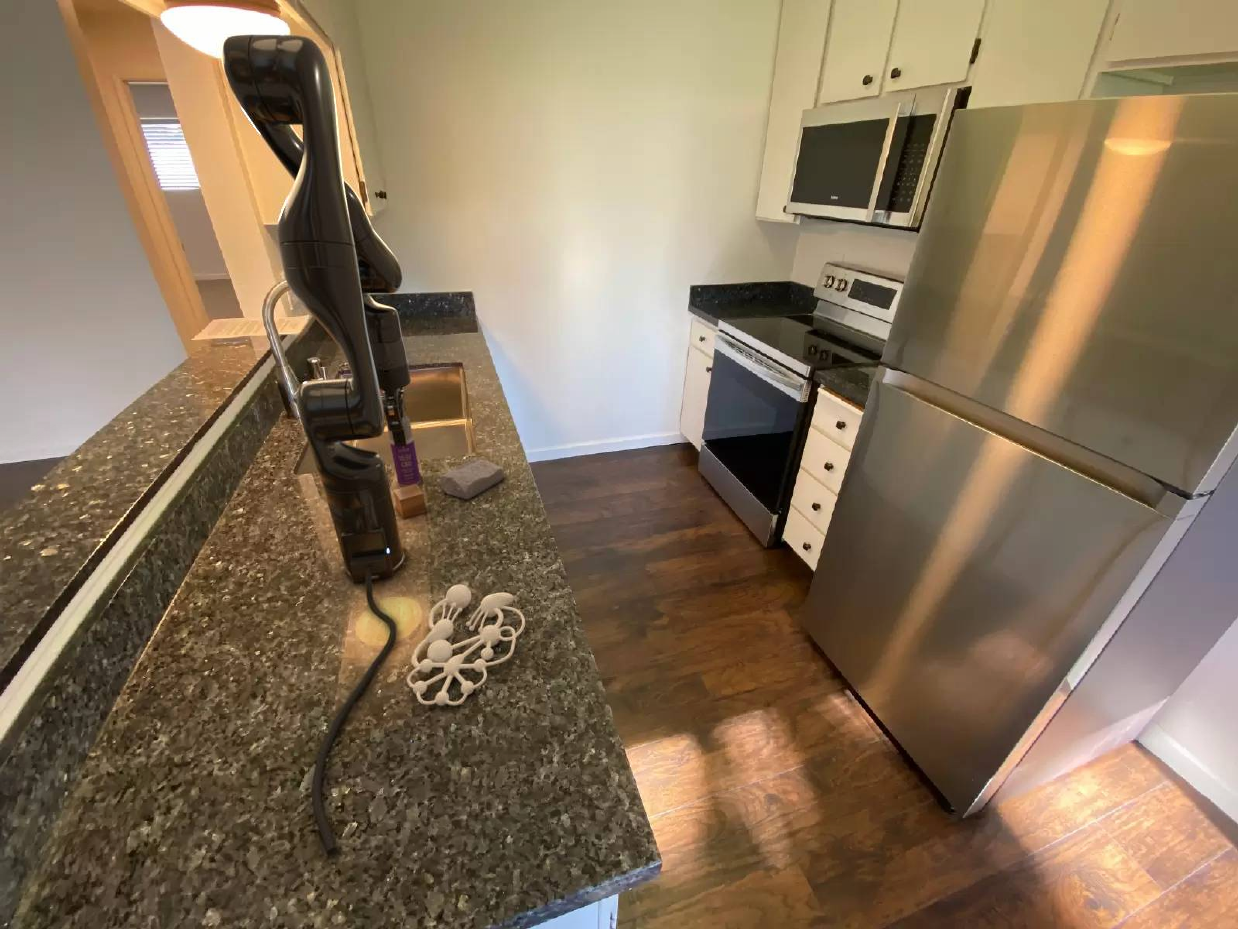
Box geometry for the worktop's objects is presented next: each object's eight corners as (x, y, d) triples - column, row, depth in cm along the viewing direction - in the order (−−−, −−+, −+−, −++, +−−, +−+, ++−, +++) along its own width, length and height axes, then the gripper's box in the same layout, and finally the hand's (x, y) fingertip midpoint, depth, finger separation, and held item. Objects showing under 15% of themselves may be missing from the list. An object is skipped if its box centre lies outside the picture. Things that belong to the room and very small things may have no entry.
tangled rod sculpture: (488, 725, 65) (487, 705, 63) (380, 701, 67) (376, 680, 64) (534, 612, 82) (535, 593, 80) (447, 594, 83) (445, 575, 81)
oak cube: (426, 512, 105) (422, 493, 103) (403, 519, 102) (399, 500, 100) (418, 502, 108) (415, 484, 106) (397, 508, 105) (393, 490, 103)
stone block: (437, 496, 113) (468, 502, 108) (432, 475, 111) (463, 480, 106) (477, 475, 122) (508, 480, 117) (473, 456, 121) (504, 460, 115)
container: (406, 489, 112) (393, 425, 105) (393, 482, 114) (381, 419, 107) (425, 481, 115) (414, 418, 108) (412, 474, 118) (401, 413, 111)
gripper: (370, 352, 107) (385, 427, 115) (361, 374, 95) (378, 457, 103) (409, 350, 109) (421, 424, 117) (405, 371, 97) (419, 453, 105)
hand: (401, 439), depth 110 cm, fingers closed on container, 4 cm apart
